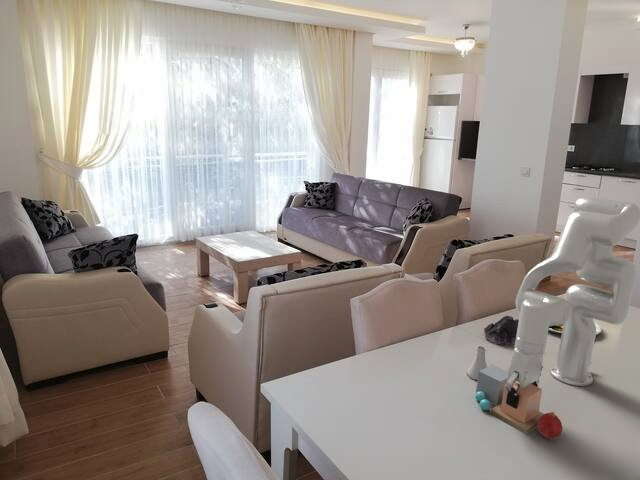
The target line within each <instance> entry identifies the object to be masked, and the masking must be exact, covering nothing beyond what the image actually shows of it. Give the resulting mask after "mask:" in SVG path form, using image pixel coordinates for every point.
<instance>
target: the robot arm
mask: <svg viewBox="0 0 640 480" xmlns="http://www.w3.org/2000/svg"><path fill="white" fill-rule="evenodd" d="M639 222H640V207H639V206H638V204H635V203H633V202H629V201H622V200H615V199H609V198H602V197H592V196H584V197H580V198H577V199H576V201H575V203H574V205H573V212H571V213H569V215H568V216H567V218H566V220H565V223H564V224H563V227H562V229H561V232H560V234H559V236H558V239H557V242H556V244H555V247H554V249H553V250H552V251H553V252H552V254H551V255H550V256H549V257H548V258H547V259H545V260H543V261H541V262H539V263H538V264H536V265H535V266H534V267H533V268H532V269H530V270H529V271H528V272H527V273H526V275H525V276H524V278H523V280H522V283H520V284H521V285H520V287H519V289H518V292H517V293H516V294H517V295H516V297H515V309H516V310H517V311H518V312H519V318H518V320H519V322H518V329H517V335H516V341H515V344H514V350H513V352H512V354H511V358H510V363H509V366H508V375H507V382H506V385H507V387H506V388H507V392H508V393H507V399H506V404H507V405H509V406H511V407H513V408H515V409H517V408H518V403H519V397H520V395H518V394H519V392H520V390H521V388H523V387H526V386H528V385H530V384H533V385H535V386H537V387H539V383H540V377H541V375H542V371H543V368H544V365H543V362H544V361H543V360H544V354H545V352H546V347H547V340H548V334H549V326H555V325H561V324H563V323H564V324H563V330H562V333H561V336H560V343H559V347H558V353H557V359H556V363H555V364H552V365H551V366H550V369H549V373H550V374H551V375H552V376H553V377H554V379H557V380H559V381H560V382H563V383H565V384H568V385H573V386H578V387H579V386H580V387H586V386H589V385H591V384H592V383H593V376H592V375H591V373H589V370H590V366H591V365H592V360H591V359H592V355H593V352H594V346H595V340H596V336H597V334H596V326H595V323H594V321H595V320H597V321H600V322H603V323H607V324H610V325H616V326H617V325H618V326H619V325H621V324H623V323H624V322H625V321H626V319H627V316H628V313H629V309H630V306H631V305H630V304H631V302H632V297H633V293H634V292H633V291H634V288H635V283H636V279H637V267H636V264H635V263H634V262H633V261H632V260H630V259H627V258H623V257H619V256H614V255H612V254H613V247H615V246H618V245H619V244H620V243H621V242H623V241H624V240H626V238H627V237H628V236H629V235H630V234H631V233H632V232H633V231H634V230H635V229H636V227H638V224H639ZM571 272H576V276H577V278H579V279H580V280H582V281H585V282H587V283H590V284H591V283H592V284H595V285H598V286H603V287H606V288H610V289H611V290H612V291H609V290H605V289H602V288H599V287H596V286H592V285H587V284H581V283H576V284H572V285H570V286H569V287H568V288H567V289H566V291H565V294H564V298H562V297H561V296H560V297H559V296H556V295H552V294H550V293H546V292H543V291H539V290H536V287H537V286H538V285H539V284H540V282H541V281H542V280H544V279H545V278H547V277H550V276H553V275H557V274H564V273H571ZM515 381H518V382H519V383H520V384H518V383H516V382H515ZM513 385H516V386H518V388H517V390H515V388H513Z"/></svg>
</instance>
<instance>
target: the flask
mask: <svg viewBox="0 0 640 480" xmlns="http://www.w3.org/2000/svg"><path fill="white" fill-rule="evenodd" d="M475 348H476V353H475V357H474V359H473V360H472V363H471V364H470V366H469V368H468V370H467V371H466V375H467V376H468V377H469V379H472V380H476V381H478V374H479V371H480V370H482V369H484V368H486V367H488V366H487V365H488V364H487V361H486V352H487V347H486V346H484V345H477V346H476V347H475Z"/></svg>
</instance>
